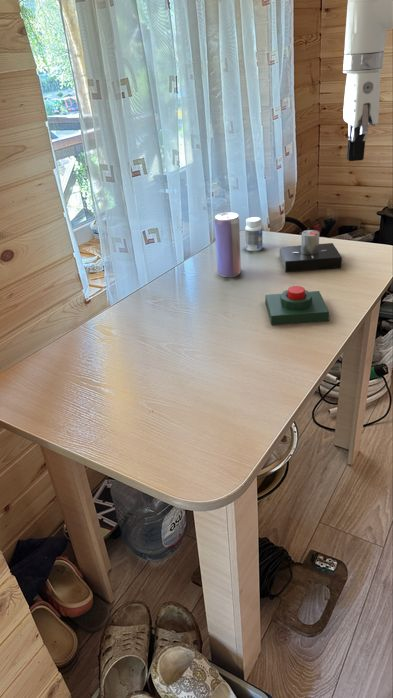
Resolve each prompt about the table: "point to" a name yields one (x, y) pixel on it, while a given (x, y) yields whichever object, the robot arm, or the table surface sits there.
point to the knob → (310, 242)
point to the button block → (296, 308)
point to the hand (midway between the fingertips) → (355, 159)
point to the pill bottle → (253, 234)
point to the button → (296, 293)
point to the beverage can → (228, 244)
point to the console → (310, 258)
